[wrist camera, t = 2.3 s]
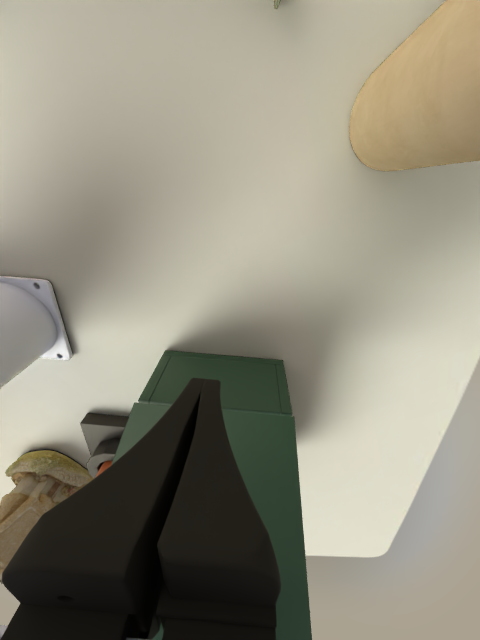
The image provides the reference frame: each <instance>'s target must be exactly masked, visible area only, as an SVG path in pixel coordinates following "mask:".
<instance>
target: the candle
mask: <svg viewBox="0 0 480 640" xmlns="http://www.w3.org/2000/svg"><path fill="white" fill-rule="evenodd" d="M349 134H350V141H351V145H352V148H353V150H354V152H355V154H356V156H357V157H358V158H359V160H360V161H361V162H362V163H364V164H365V165H366V166H368V167H370V168H373V169H375V170H379V171H397V170H405V169H413V168H422V167H430V166H438V165H446V164H454V163H463V162H471V161H479V160H480V0H446V1H445V2H444V3H443V4H442V5H441V6H440V7H439V8H438V9H437V10H436V11H435V12H434V13H433V14H432V15H431V16H430V17H429V18H428V19H427V20H426V21H425V22H424V23H423V24H422V25H421V26H420V27H418V28H417V29H416V30H415V31H414V32H413V33H412V34H411V35H410V36H409V37H408V38H407V39H406V40H405V41H404V42H403V43H402V44H401V45H400V46H399V47H398V48H397V49H396V50H395V51H394V52H393V53H392V54H391V55H390V56H389V57H388V58H387V59H386V60H385V61H384V62H383V63H382V64H381V65H380V66H379V67H378V68H377V69H376V70H375V71H374V72H373V73H372V74H371V75H370V77H369V78H368V79H367V80H366V82H365V83H364V85H363V87H362V88H361V90H360V92H359V94H358V96H357V98H356V100H355V103H354V105H353V109H352V112H351V117H350V125H349Z"/></svg>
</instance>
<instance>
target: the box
mask: <svg viewBox="0 0 480 640" xmlns="http://www.w3.org/2000/svg"><path fill="white" fill-rule="evenodd" d="M191 378H202V379H214V380H219V381H220V382H221V389H220V400H221V408H222V410H225V411H237V412H248V413H259V414H271V415H282V416H292V409H291V403H290V398H289V392H288V386H287V380H286V374H285V368H284V363H283V360H273V359H261V358H249V357H238V356H226V355H214V354H202V353H191V352H179V351H167V350H166V351H165V352H164V354H163V356H162V357H161V359H160V361H159V363H158V365H157V367H156V368H155V370H154V372H153V374H152V376H151V378H150V380H149V381H148V383H147V385H146V387H145V389H144V391H143V392H142V394H141V396H140V398H139V400H138V401H139V403H145V404H157V405H168V406H171V405H172V404H173V403H174V402H175V400H176V399H177V398H178V396H179V395H180V394H181V392H182V391H183V390H184V388H185V387H186V385H187V384H188V382H189V381H190V379H191Z"/></svg>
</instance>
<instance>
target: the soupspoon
mask: <svg viewBox="0 0 480 640" xmlns="http://www.w3.org/2000/svg"><path fill="white" fill-rule="evenodd" d="M279 3H280V0H274V8H275V9H277V8H278V6H279Z"/></svg>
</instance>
